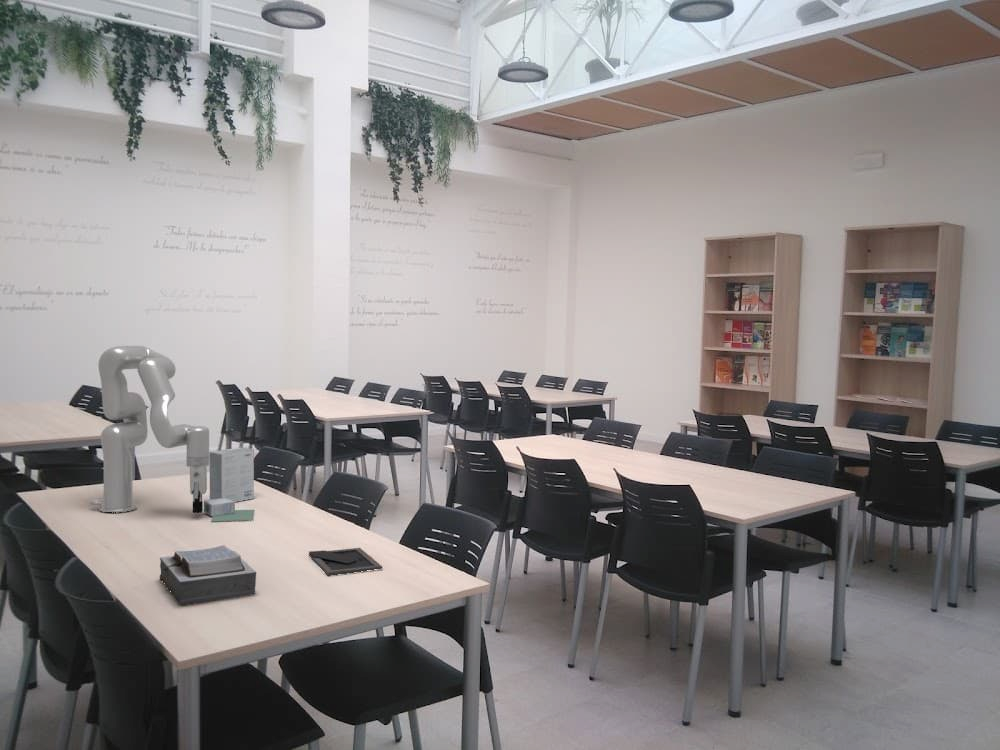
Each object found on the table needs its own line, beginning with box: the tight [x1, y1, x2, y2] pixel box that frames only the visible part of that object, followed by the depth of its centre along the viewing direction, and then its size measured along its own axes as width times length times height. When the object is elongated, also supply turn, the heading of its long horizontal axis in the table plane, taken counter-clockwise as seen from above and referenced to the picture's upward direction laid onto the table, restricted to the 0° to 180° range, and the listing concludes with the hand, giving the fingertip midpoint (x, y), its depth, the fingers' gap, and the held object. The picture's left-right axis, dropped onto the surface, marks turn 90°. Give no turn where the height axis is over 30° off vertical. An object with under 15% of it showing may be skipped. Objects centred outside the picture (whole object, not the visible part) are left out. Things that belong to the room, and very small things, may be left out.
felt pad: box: [210, 509, 255, 523], centre depth 289 cm, size 14×16×1 cm
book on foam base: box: [159, 544, 257, 606], centre depth 213 cm, size 23×27×10 cm
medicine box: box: [203, 498, 236, 517], centre depth 292 cm, size 8×4×9 cm
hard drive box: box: [208, 447, 255, 503], centre depth 313 cm, size 16×8×20 cm, turn 144°
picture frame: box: [308, 547, 383, 577], centre depth 238 cm, size 16×2×21 cm
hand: (197, 512), depth 286 cm, fingers closed
